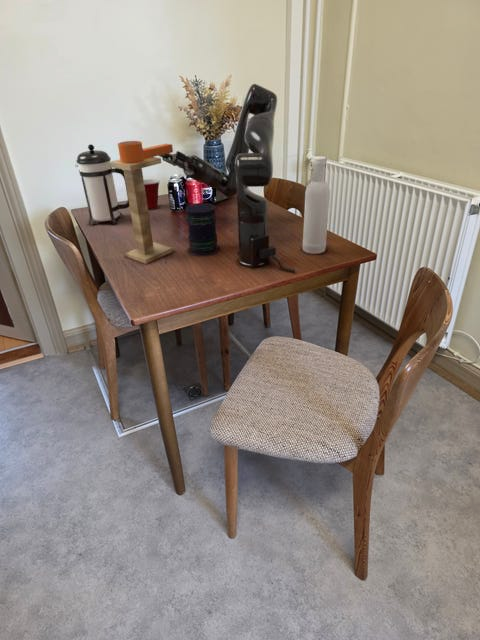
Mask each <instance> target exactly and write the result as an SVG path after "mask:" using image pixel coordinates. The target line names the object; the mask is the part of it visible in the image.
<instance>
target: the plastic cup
mask: <svg viewBox="0 0 480 640" xmlns="http://www.w3.org/2000/svg"><path fill="white" fill-rule="evenodd" d="M143 180H144V187H145V193H146V200H147V206H148V211H149V210H155V209H157V208H158V206H159V202H158V201H159V185H160V182H161V180H159V179H155V178H154V179H151V178H150V179H148V178H147V179H143Z"/></svg>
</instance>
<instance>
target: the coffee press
mask: <svg viewBox="0 0 480 640" xmlns="http://www.w3.org/2000/svg"><path fill="white" fill-rule="evenodd" d="M87 149H88V150H86V151H83V152H80V153H79V154H78V155H77V158H76V162H75V165H74V167H75V168H78V169H79V170H78V172H79V176H80V179H81V183H82V187H83V191H84V195H85V201H86V204H87V209H88V214H89V220H88V225H90V226H93V225H94V224H95V223H96V222H110V223H111V225H117V221H116V219H117V218H118V217H119V218H122V217H123V214H122V212H120V210H126V209H129V208H130V206H129V200H128V199H127V202H126V203H124V204H121V203H120V204H119V202H118V196H117V192H116V191H117V190H116V186H115V180H114V174H113V173H115V174H119V175H121V176H122V178H123V180H124V181H125V177H124V171H123V169H118V168H113V167H110V165H109V162H111V161H112V159H111V156H109V155H110V154H108V152H107V151H104V150H99V149H97V150H96V149H95V146H94V145H93V144H88V146H87ZM124 185H125V186H126V183H125V182H124ZM125 189H126V191H125V192H127V188H126V187H125ZM126 196H127V198H128V194H127V193H126ZM92 220H93V221H92Z"/></svg>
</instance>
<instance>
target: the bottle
mask: <svg viewBox="0 0 480 640" xmlns="http://www.w3.org/2000/svg"><path fill="white" fill-rule="evenodd" d="M312 164H313V165H312V166H313V169H312V171H313V172H312V180H311V182H309V183H308V184H307V186H306V189H305V191H304V193H305V195H304V211H303V213H304V214H303V231H302V233H303V235H302V251H303V252H304V253H306V254H310V255H311V254H312V255H319V254H322V253H324V252H326V248H327V236H328V223H329V209H330V199H331V198H330V197H331V189H330V185H329V184H328V183H327V182H326V180H325V177H326V175H325V174H326V164H327V158H326V157H325V156H324V155H323V156H322V155H317V156H314V157H313V161H312Z"/></svg>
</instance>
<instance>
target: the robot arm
mask: <svg viewBox="0 0 480 640" xmlns="http://www.w3.org/2000/svg"><path fill="white" fill-rule="evenodd" d="M241 106H242V107H241V109H240V113H239V117H238V121H237V124H236V128H235V132H234V136H233V140H232V143H231V146H230V149H229V151H228V154H227V156H226V158H225V162H224V167H225V168H226V171H227V172H228V173H226V172H225V171H223V170H221V169H218V168H217V167H215V166H214V165H211V163H209V162H207V161H206V160H204V159H202V158H201V157H199V156H197V155H194V154H193V155H188V154H184V153H183V152H181V151H179V150H177V151H176V152H175V153H173V154H172V153H167V154H163V155H159V156H158V157H159V158H161V161H163V162H166V163H168V164H169V165H172V166H173V167H178V169H179V168H180V169H182V171H183V174H184V175H185V176H186V177H187V178H190V179H192V180H193V181H195V182H197V183H199V182H200V183H203V184H205V185H207V186H209V187H212V188H216V189H217V190H219V191H220V192H221V193H222V194H224V195H225V196H226V197H229V198H234V197H235V196H236V199H237V200H236V201H237V203H236V204H237V207H236V208H237V233H238V236H237V237H238V251H237V256H238V262H239V263H240V264H241V265H243V266H246V267H251V268H252V269H253V268H254V269H255V268H257V267H261V266H264V265H268V264H270V258H272V259H273V260H274V261H275V262H276V263H277V264H278V266H279V268H280V269H281V270H283V271H285V272H292V273H295V272H296V270H295V269H292V268H286V267H284V266H283V265H282V263H281V261H280V260H279V259H278V258H277V257H276V255H277V254H276V253H277V252H276V251H277V250H276V249H277V248H276V246H274V245H270V235H269V233H268V231H269V228H268V227H269V219H268V218H269V203H268V199H267V198H266V197H265V196H263V195H260V194H257V193H256V192H253V191H252V190H250V189H249V188H250V187H252V188H255V187H260V188H261V187H267V186H269V185H270V184H271V182H272V179H273V176H274V159H273V147H274V137H275V116H276V111H277V107H278V97H277V94H276V93H275V92H274V91H272V90H270V89H268V88H265V87H263V86H262V85H259V84H257V83H252V84H251V85H250V86H249V88H248V90H247V91H246V94H245V97H244V99H243V103H242V105H241ZM250 115H253V116H251V117H250V118H249V116H250ZM229 198H228V199H229Z"/></svg>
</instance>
